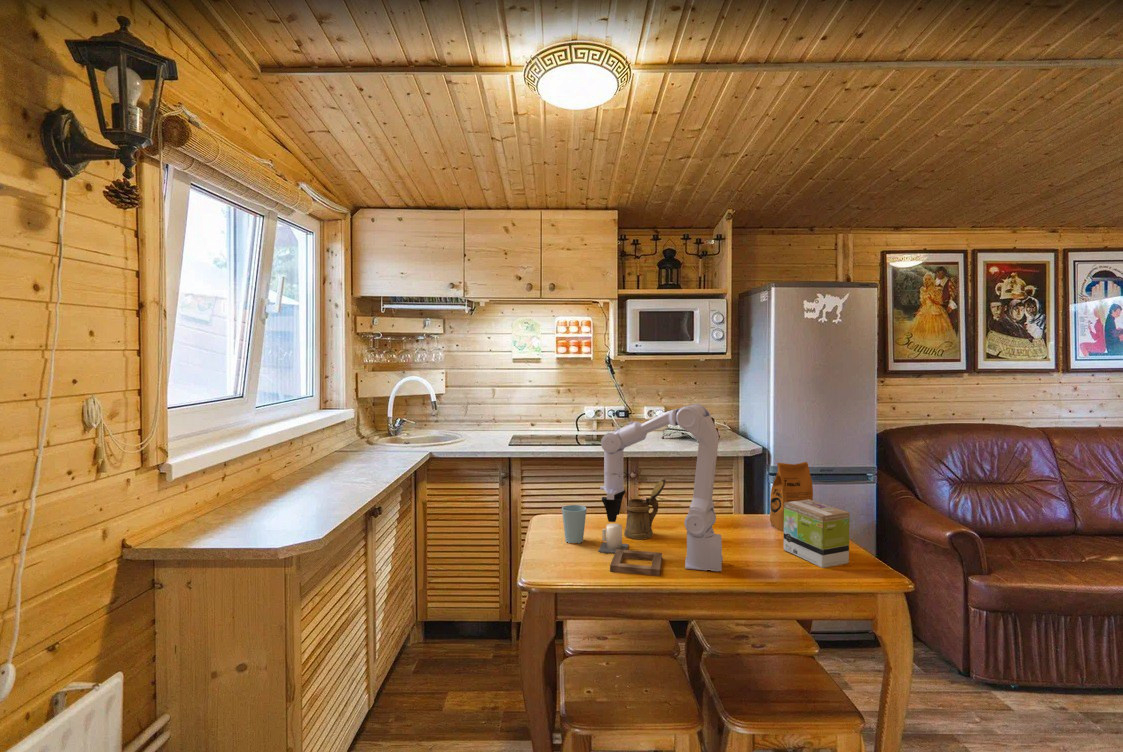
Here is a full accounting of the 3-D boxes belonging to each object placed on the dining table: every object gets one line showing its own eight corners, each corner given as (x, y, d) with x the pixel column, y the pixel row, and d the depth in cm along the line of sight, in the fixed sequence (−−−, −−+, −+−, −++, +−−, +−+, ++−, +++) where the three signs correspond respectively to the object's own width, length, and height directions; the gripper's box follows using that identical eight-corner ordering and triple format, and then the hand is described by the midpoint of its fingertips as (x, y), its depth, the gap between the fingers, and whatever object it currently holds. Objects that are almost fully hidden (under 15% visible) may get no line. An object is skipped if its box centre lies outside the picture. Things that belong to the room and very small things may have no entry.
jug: (623, 545, 166) (623, 524, 166) (619, 550, 162) (619, 528, 161) (604, 543, 168) (604, 522, 168) (600, 548, 164) (600, 526, 163)
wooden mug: (669, 538, 174) (669, 482, 173) (627, 540, 173) (627, 483, 172) (661, 530, 183) (662, 476, 182) (621, 531, 182) (621, 477, 181)
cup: (576, 546, 166) (576, 512, 166) (556, 541, 171) (556, 508, 171) (591, 540, 172) (591, 507, 172) (571, 535, 177) (571, 503, 177)
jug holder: (662, 558, 157) (662, 552, 157) (659, 575, 144) (659, 569, 144) (616, 554, 160) (616, 549, 160) (609, 571, 147) (609, 565, 147)
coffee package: (766, 523, 190) (766, 460, 189) (801, 522, 191) (801, 459, 190) (779, 532, 180) (780, 465, 179) (816, 531, 181) (817, 464, 180)
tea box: (781, 550, 163) (782, 501, 162) (808, 546, 166) (809, 498, 166) (822, 569, 149) (823, 514, 148) (850, 564, 152) (851, 511, 152)
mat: (628, 545, 167) (628, 544, 167) (625, 554, 160) (625, 553, 160) (602, 543, 169) (602, 542, 169) (598, 552, 162) (598, 550, 162)
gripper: (604, 467, 172) (604, 510, 172) (596, 477, 158) (596, 524, 158) (626, 468, 170) (626, 511, 171) (620, 478, 156) (620, 525, 156)
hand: (613, 517), depth 164 cm, fingers open, 7 cm apart
